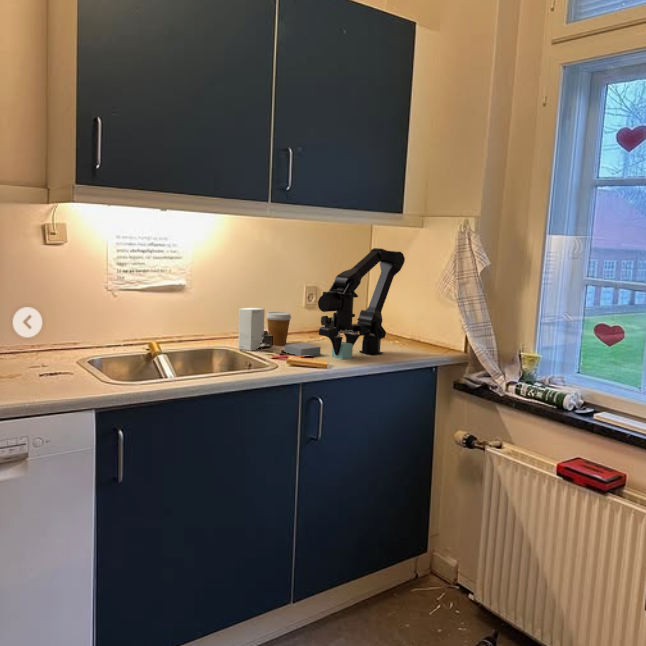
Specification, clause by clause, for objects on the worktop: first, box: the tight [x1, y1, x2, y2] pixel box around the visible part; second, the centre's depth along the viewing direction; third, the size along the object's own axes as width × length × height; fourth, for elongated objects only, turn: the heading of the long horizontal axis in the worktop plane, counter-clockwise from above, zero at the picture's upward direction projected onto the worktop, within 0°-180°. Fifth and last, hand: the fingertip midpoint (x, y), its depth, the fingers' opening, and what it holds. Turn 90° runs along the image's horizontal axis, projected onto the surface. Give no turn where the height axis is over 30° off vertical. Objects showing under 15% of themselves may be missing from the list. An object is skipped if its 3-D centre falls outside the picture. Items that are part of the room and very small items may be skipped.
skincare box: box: [237, 307, 266, 352], centre depth 227 cm, size 8×6×15 cm
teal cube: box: [331, 341, 354, 360], centre depth 221 cm, size 5×5×5 cm
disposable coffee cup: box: [265, 311, 292, 347], centre depth 238 cm, size 10×10×12 cm
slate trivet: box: [283, 342, 321, 356], centre depth 223 cm, size 9×9×3 cm
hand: (342, 354), depth 221 cm, fingers closed on teal cube, 5 cm apart
